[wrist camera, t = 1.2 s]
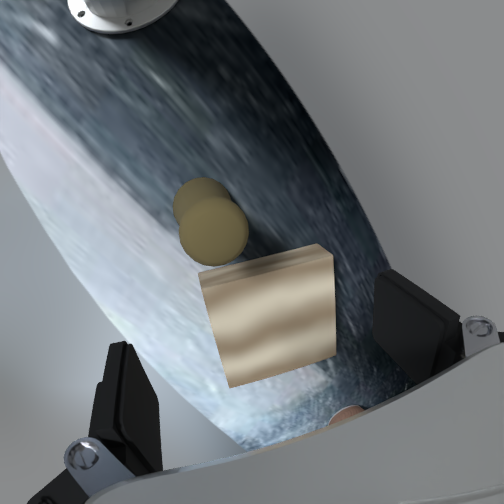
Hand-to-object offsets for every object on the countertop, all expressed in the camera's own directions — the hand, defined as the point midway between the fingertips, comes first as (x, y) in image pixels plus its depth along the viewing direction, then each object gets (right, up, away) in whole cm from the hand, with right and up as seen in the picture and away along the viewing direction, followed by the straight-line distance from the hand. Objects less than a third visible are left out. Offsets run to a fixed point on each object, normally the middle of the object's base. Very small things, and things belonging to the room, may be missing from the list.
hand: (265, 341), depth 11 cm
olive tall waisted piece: (-6, +8, +21) cm, 23 cm away
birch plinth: (+2, -4, +27) cm, 27 cm away
